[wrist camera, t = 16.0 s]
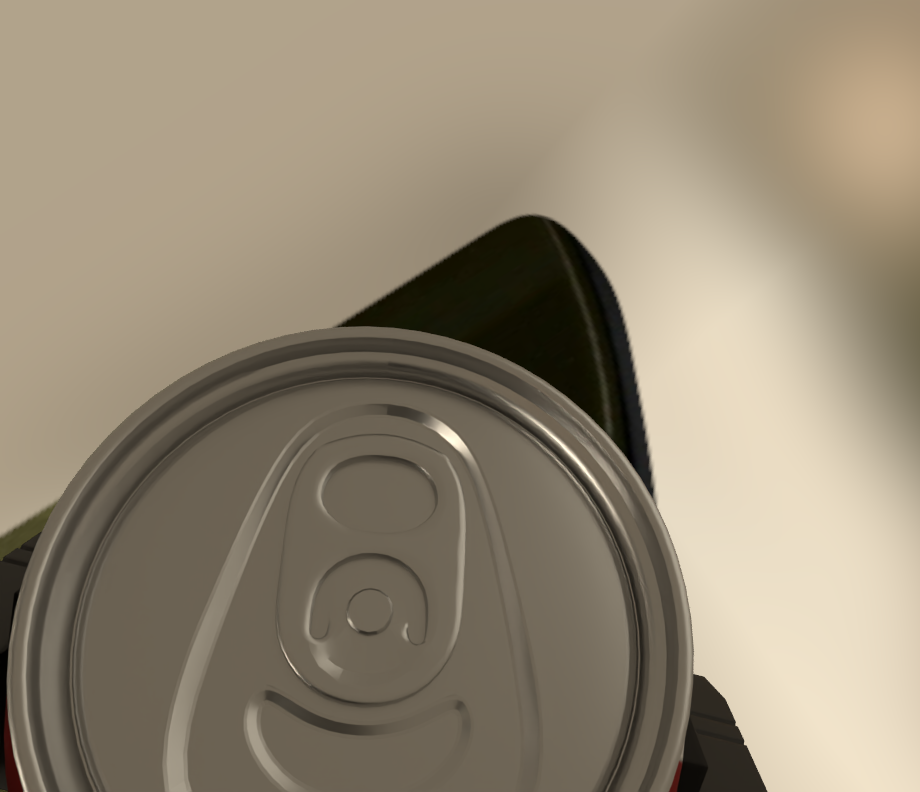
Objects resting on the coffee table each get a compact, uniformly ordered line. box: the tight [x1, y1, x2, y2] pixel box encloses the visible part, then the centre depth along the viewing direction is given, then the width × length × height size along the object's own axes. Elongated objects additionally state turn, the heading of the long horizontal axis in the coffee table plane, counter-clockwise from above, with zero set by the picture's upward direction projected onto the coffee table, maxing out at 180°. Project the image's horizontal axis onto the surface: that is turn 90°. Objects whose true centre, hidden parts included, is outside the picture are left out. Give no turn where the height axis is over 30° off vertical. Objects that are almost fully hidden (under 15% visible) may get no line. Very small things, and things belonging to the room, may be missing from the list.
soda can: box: [4, 327, 694, 792], centre depth 11 cm, size 7×7×12 cm
